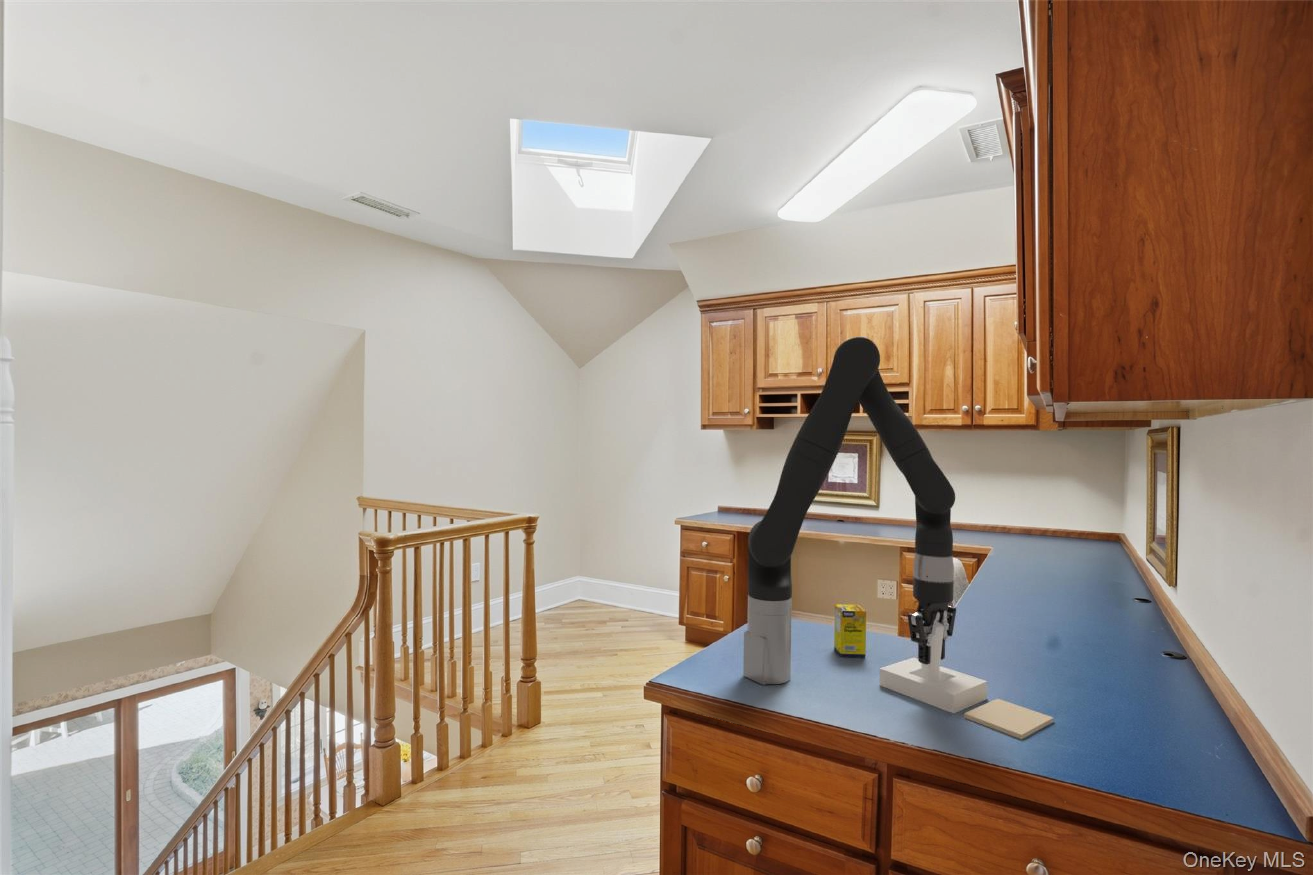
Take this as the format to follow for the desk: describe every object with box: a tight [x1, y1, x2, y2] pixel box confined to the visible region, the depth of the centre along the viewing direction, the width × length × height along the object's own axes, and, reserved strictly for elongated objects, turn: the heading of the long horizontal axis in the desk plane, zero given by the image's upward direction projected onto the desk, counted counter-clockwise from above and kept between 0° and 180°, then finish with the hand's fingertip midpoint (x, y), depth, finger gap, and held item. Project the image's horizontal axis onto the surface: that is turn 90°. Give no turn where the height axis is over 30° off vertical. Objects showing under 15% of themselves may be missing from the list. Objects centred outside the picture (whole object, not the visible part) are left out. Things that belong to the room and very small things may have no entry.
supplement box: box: [833, 603, 867, 658], centre depth 149 cm, size 6×6×11 cm
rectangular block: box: [879, 657, 988, 714], centre depth 127 cm, size 12×16×4 cm
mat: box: [963, 698, 1054, 740], centre depth 115 cm, size 12×10×1 cm
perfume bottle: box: [921, 622, 944, 683], centre depth 127 cm, size 5×4×15 cm
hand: (931, 660), depth 127 cm, fingers closed on perfume bottle, 4 cm apart
